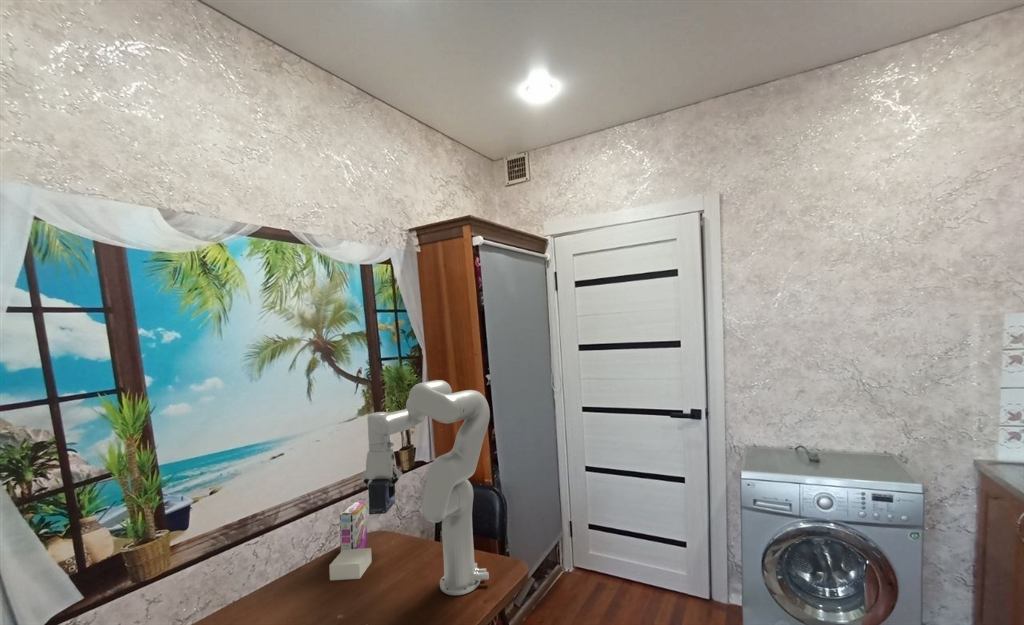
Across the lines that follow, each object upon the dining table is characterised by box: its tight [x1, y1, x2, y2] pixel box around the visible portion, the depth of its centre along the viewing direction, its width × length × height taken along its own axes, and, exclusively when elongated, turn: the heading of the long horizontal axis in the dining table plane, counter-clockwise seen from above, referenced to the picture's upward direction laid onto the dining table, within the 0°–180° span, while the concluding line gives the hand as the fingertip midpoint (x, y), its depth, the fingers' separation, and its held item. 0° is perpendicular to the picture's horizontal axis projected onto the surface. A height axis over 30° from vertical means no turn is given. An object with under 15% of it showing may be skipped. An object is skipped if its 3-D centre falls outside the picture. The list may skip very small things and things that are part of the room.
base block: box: [329, 547, 373, 581], centre depth 135 cm, size 10×10×5 cm
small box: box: [367, 475, 396, 516], centre depth 144 cm, size 11×6×10 cm, turn 179°
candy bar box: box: [339, 501, 368, 553], centre depth 148 cm, size 11×5×16 cm, turn 174°
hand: (382, 496), depth 144 cm, fingers closed on small box, 6 cm apart
